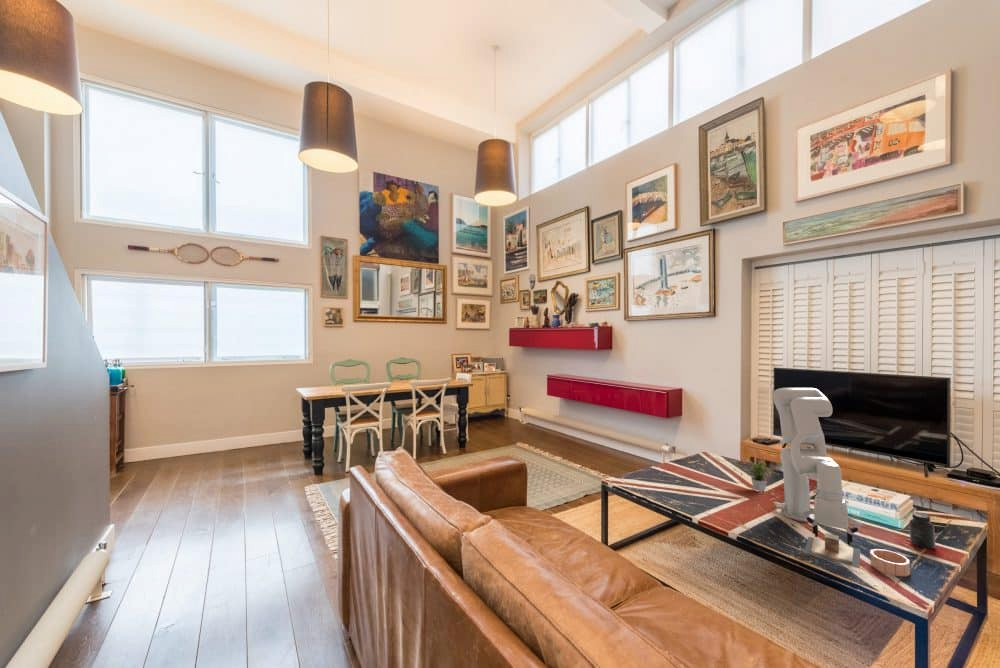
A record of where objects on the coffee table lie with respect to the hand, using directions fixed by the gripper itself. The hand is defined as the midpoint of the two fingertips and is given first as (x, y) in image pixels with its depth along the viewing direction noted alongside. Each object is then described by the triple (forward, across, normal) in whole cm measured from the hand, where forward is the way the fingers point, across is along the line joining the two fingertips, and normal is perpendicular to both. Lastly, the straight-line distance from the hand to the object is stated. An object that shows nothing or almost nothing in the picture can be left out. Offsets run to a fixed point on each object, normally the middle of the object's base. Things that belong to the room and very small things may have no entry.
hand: (832, 539), depth 153 cm
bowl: (+6, +16, 0) cm, 17 cm away
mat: (+6, 0, +1) cm, 6 cm away
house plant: (+4, -34, +56) cm, 66 cm away
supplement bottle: (+6, +26, +30) cm, 40 cm away
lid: (+5, 0, +1) cm, 5 cm away
